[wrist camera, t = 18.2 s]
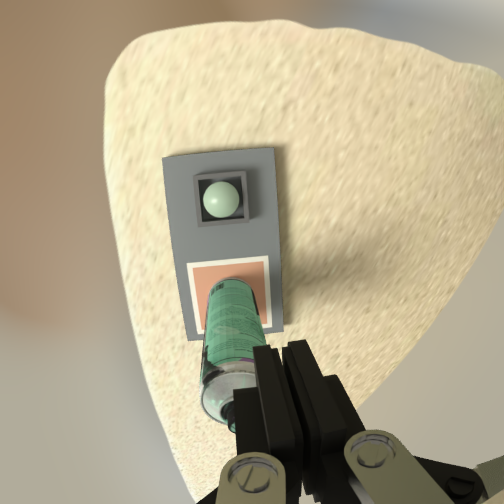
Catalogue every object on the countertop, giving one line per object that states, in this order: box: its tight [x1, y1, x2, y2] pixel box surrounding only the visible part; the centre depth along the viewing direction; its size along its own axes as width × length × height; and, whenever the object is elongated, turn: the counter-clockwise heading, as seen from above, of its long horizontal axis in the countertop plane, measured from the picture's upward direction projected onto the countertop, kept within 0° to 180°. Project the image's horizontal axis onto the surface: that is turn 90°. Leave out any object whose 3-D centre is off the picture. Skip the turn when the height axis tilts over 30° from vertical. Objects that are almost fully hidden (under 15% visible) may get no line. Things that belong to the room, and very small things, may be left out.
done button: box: [203, 181, 239, 218], centre depth 32 cm, size 4×4×2 cm
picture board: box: [162, 147, 284, 341], centre depth 35 cm, size 22×12×3 cm, turn 4°
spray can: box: [199, 277, 267, 434], centre depth 27 cm, size 6×6×20 cm
